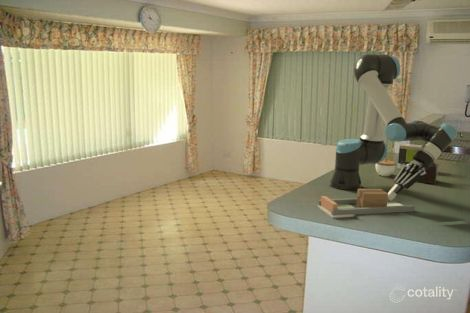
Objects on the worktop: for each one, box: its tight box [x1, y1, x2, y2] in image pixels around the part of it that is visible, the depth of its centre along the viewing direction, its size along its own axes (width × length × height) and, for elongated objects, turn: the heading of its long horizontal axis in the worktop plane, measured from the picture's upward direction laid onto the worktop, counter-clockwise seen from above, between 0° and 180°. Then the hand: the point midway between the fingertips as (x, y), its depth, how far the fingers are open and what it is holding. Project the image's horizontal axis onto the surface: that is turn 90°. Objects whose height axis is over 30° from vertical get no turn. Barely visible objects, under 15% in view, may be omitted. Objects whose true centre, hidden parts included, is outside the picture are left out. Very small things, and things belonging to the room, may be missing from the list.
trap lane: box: [317, 195, 416, 219], centre depth 170 cm, size 14×36×5 cm, turn 103°
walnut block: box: [356, 188, 388, 208], centre depth 170 cm, size 7×10×7 cm
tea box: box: [397, 143, 423, 170], centre depth 248 cm, size 15×10×15 cm
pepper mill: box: [416, 153, 442, 185], centre depth 222 cm, size 16×11×18 cm
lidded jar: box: [374, 158, 397, 177], centre depth 232 cm, size 11×11×9 cm
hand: (388, 198), depth 169 cm, fingers closed
